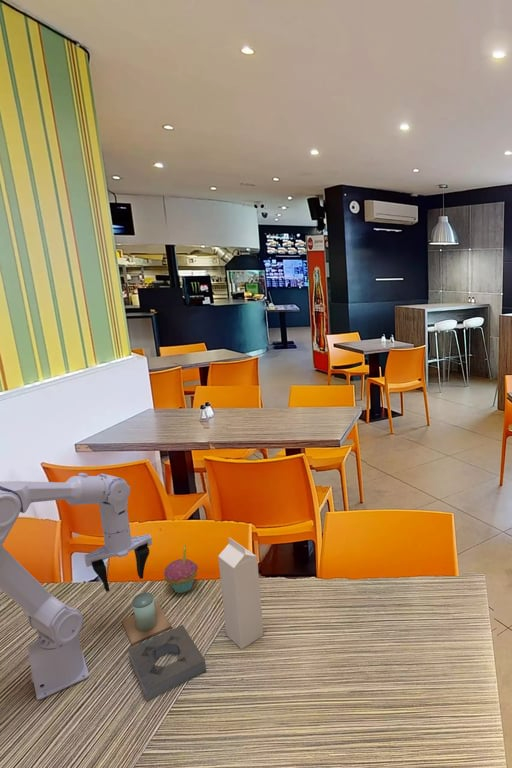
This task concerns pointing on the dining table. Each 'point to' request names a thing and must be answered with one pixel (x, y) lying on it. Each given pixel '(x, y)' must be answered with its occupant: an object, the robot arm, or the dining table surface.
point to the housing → (172, 675)
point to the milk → (240, 594)
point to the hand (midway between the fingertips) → (124, 582)
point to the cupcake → (181, 573)
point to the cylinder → (144, 612)
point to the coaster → (140, 636)
